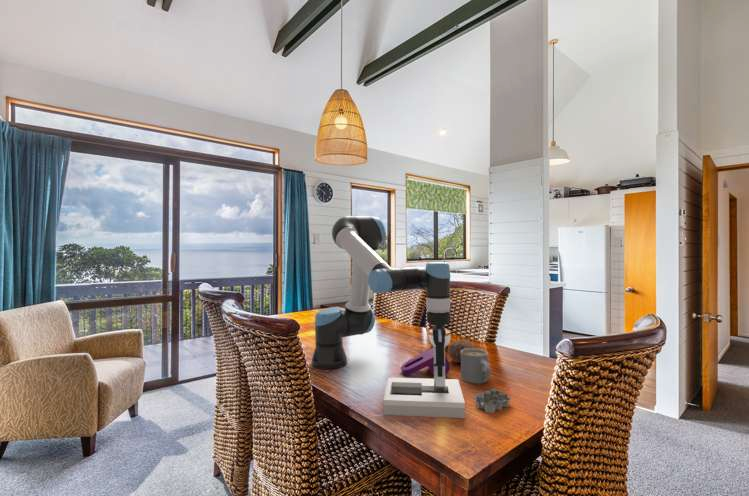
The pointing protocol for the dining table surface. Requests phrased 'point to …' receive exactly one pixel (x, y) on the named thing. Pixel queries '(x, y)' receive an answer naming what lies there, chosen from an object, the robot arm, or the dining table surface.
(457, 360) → the decorative rock
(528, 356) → the dining table surface
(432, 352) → the mounting bracket
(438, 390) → the headed peg
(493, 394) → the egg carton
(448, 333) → the lidded jar
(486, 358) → the coffee mug
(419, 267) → the robot arm
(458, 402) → the keyhole plate
